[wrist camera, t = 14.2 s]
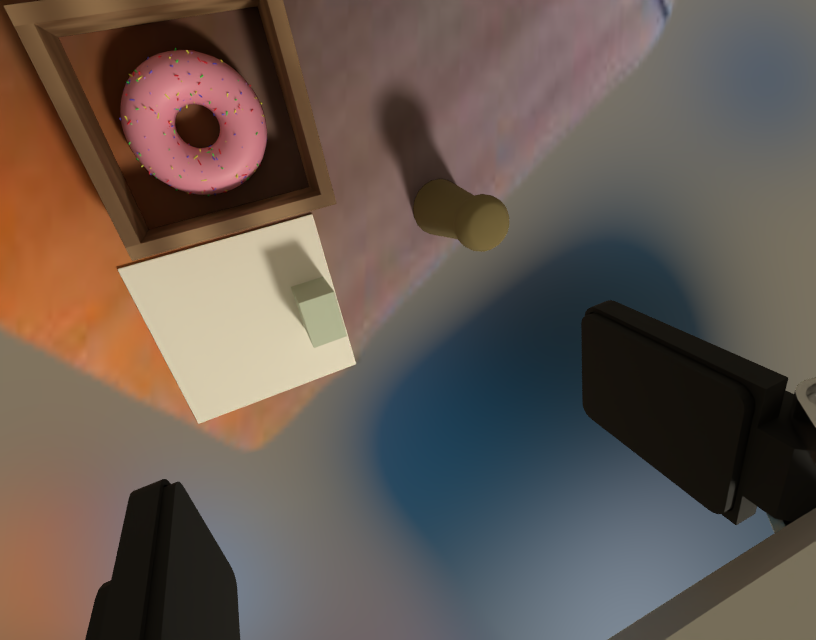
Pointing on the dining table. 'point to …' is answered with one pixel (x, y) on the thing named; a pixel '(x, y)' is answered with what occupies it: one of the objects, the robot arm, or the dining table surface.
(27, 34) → the open wooden box
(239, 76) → the doughnut
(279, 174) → the dining table surface
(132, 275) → the lid
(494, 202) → the cork
